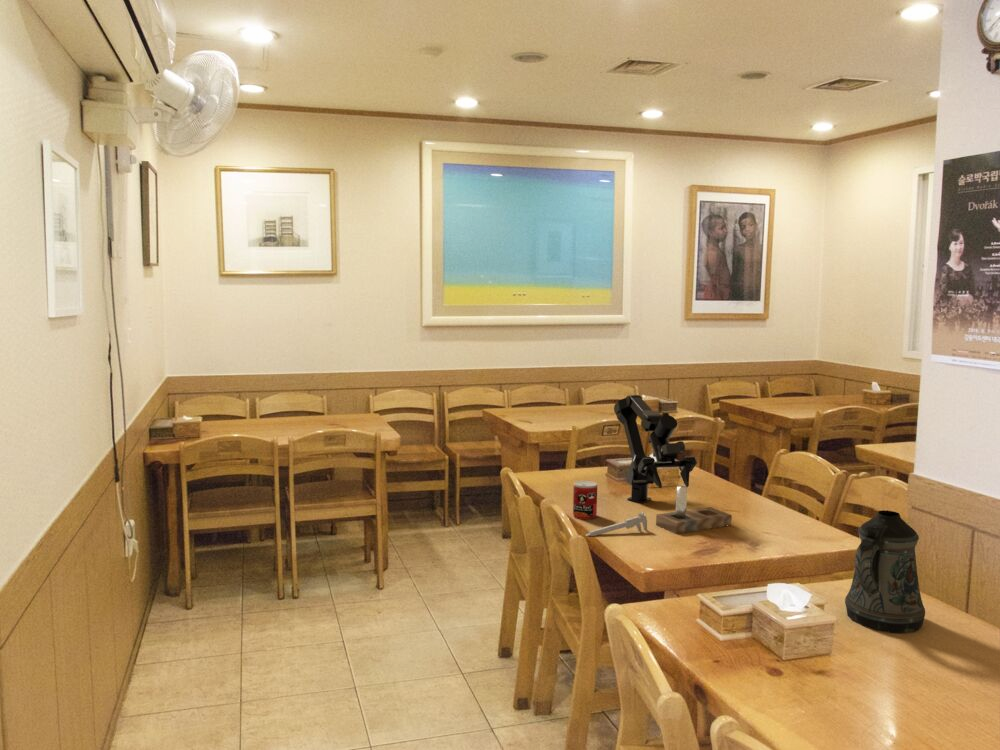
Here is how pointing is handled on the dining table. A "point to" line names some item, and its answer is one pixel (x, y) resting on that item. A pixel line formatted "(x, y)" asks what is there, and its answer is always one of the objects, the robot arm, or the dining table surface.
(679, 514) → the drill rod
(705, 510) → the tool block
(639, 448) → the robot arm
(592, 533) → the caliper
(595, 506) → the canned food
